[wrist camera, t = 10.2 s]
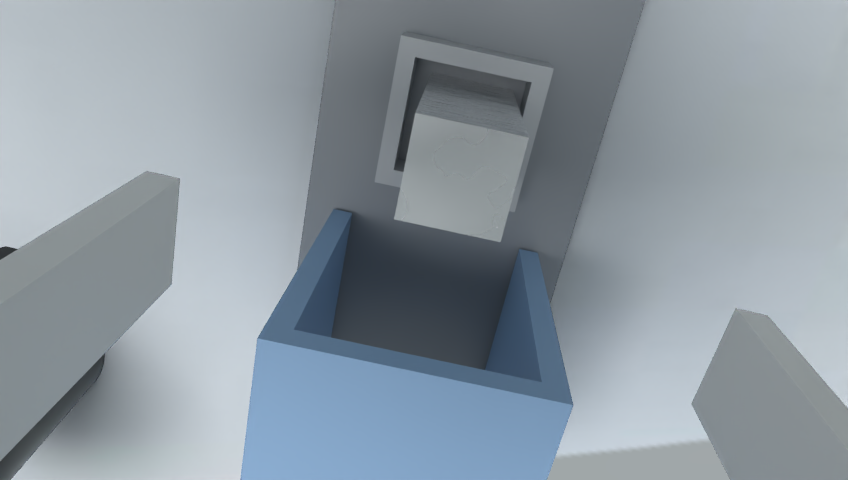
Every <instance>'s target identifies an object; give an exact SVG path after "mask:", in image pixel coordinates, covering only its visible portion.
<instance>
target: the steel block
mask: <svg viewBox="0 0 848 480" xmlns="http://www.w3.org/2000/svg"><path fill="white" fill-rule="evenodd" d="M528 139H529V136H528V133H527V130H526V128H525V125H524V122H523V119H522V116H521V113H520V110H519V107H518V104H517V101H516V98H515V95H514V93H513V90H511V89H507V88H502V87H498V86H493V85H488V84H484V83H479V82H475V81H470V80H466V79H461V78H457V77H452V76H447V75H443V74H438V73H434V72H432V73H431V76H430V78H429V81H428V83H427V85H426V88H425V90H424V93H423V95H422V98H421V100H420V103H419V105H418V108H417V110H416V112H415V117H414V122H413V127H412V132H411V137H410V142H409V147H408V152H407V157H406V162H405V167H404V172H403V177H402V182H401V187H400V192H399V197H398V202H397V207H396V212H395V217H394V219H395V220H400V221H404V222H409V223H414V224H418V225H423V226H427V227H432V228H437V229H441V230H446V231H451V232H455V233H460V234H464V235H469V236H474V237H478V238H483V239H488V240H492V241H497V242H501V239H502V235H503V231H504V228H505V224H506V220H507V217H508V213H509V209H510V206H511V202H512V198H513V194H514V191H515V187H516V183H517V180H518V176H519V172H520V169H521V165H522V161H523V158H524V154H525V150H526V147H527V143H528Z"/></svg>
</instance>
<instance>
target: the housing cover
mask: <svg viewBox="0 0 848 480" xmlns="http://www.w3.org/2000/svg"><path fill="white" fill-rule="evenodd" d="M351 217H352V213H350V212H345V211H341V210H336V209H333V211H332V213H331V214H330V216H329V218H328V219H327V221H326V223H325V224H324V226H323V228H322V230H321V231H320V233H319V235H318V236H317V238H316V240H315V241H314V243H313V245H312V247H311V248H310V250H309V252H308V253H307V255H306V257H305V258H304V260H303V262H302V264H301V265H300V267H299V269H298V270H297V272H296V274H295V275H294V277H293V279H292V281H291V282H290V284H289V286H288V287H287V289H286V291H285V292H284V294H283V296H282V298H281V299H280V301H279V303H278V304H277V306H276V308H275V309H274V311H273V313H272V314H271V316H270V318H269V320H268V321H267V323H266V325H265V326H264V328H263V330H262V331H261V333H260V335H259V337H258V338H257V346H256V355H255V363H254V371H253V380H252V388H251V396H250V405H249V413H248V421H247V430H246V438H245V446H244V455H243V463H242V471H241V479H240V480H547V478H548V475H549V472H550V470H551V467H552V464H553V461H554V458H555V455H556V453H557V450H558V447H559V444H560V441H561V439H562V436H563V433H564V430H565V427H566V424H567V422H568V419H569V416H570V413H571V410H572V407H573V402H572V397H571V393H570V389H569V385H568V380H567V376H566V372H565V367H564V363H563V359H562V355H561V350H560V346H559V342H558V337H557V333H556V329H555V325H554V320H553V316H552V312H551V307H550V303H549V299H548V295H547V290H546V286H545V282H544V277H543V273H542V269H541V264H540V260H539V256H538V253H536V252H531V251H527V250H522V249H519V252H518V255H517V259H516V262H515V266H514V269H513V273H512V276H511V280H510V283H509V287H508V291H507V294H506V298H505V301H504V305H503V308H502V312H501V315H500V319H499V322H498V326H497V329H496V333H495V336H494V340H493V343H492V347H491V351H490V354H489V358H488V361H487V365H486V368H485V370H482V369H477V368H472V367H468V366H463V365H458V364H453V363H449V362H444V361H439V360H435V359H430V358H425V357H420V356H416V355H411V354H406V353H402V352H397V351H392V350H387V349H383V348H378V347H373V346H369V345H364V344H359V343H354V342H350V341H345V340H340V339H336V338H331V334H332V328H333V323H334V317H335V311H336V305H337V299H338V293H339V287H340V282H341V276H342V270H343V264H344V258H345V252H346V246H347V241H348V235H349V229H350V223H351Z"/></svg>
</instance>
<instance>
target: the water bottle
mask: <svg viewBox="0 0 848 480" xmlns="http://www.w3.org/2000/svg"><path fill="white" fill-rule="evenodd" d="M103 363H104V355H103V356H102V357H101V358H100V359H99V360H98V361H97V362H96V363H95V364H94V365H93V366H92V367H91V368H90V369H89V370H88V371H87V372H86V373H85V374H84V375H83V376H82V377H81V378H80V379H79V380H78V381H77V382H76V383H75V384H74V385H73V387H72V388H71V389H70V390H69V391H68V392H67V393H66V394H65V395H64V396H63V397H62V398H61V399H60V400H59V401H58V402H57V403H56V404H55V405H54V406H53V407H52V408H51V409H50V410H49V411H48V412H47V413H46V414H45V415H44V416H43V417H42V419H41V420H40V421H39V422H38V423H37V424H36V425H35V426H34V427H33V428H32V429H31V430H30V431H29V432H28V433H27V434H26V435H25V436H24V437H23V438H22V439H21V440H20V441H19V442H18V443H17V444H16V445H15V446H14V447H13V448H12V450H11V451H10V452H9V453H8V454H7V455H6V456H5V457H4V458H3V459H2V460H1V461H0V480H11V479H12V478H13V476H14V475H15V474H16V473H17V472H18V471H19V469H20V468H21V467H22V466H23V465H24V464H25V462H26V461H27V460H28V459H29V458H30V457H31V455H32V454H33V453H34V452H35V451H36V450H37V448H38V447H39V446H40V445H41V444H42V443H43V441H44V440H45V439H46V438H47V437H48V436H49V434H50V433H51V432H52V431H53V430H54V429H55V427H56V426H57V425H58V424H59V423H60V422H61V420H62V419H63V418H64V417H65V416H66V415H67V413H68V412H69V411H70V410H71V409H72V408H73V406H74V405H75V404H76V403H77V402H78V401H79V399H80V398H81V397H82V396H83V395H84V394H85V392H86V391H87V390H88V389H89V388H90V387H91V385H92V384H93V383H94V382H95V381H96V379H97V378H98V376H99V375H100V372H101V370H102V367H103Z"/></svg>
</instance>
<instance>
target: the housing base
mask: <svg viewBox="0 0 848 480" xmlns="http://www.w3.org/2000/svg"><path fill="white" fill-rule="evenodd" d="M644 3H645V0H335V6H334V13H333V20H332V27H331V34H330V41H329V48H328V55H327V63H326V70H325V77H324V84H323V91H322V98H321V105H320V112H319V119H318V126H317V133H316V140H315V148H314V155H313V162H312V169H311V176H310V183H309V190H308V197H307V204H306V211H305V218H304V226H303V233H302V240H301V247H300V254H299V261H298V268H297V270H298V269H299V267H300V265H301V264H302V262H303V260H304V258H305V257H306V255H307V253H308V252H309V250H310V248H311V247H312V245H313V243H314V241H315V240H316V238H317V236H318V235H319V233H320V231H321V230H322V228H323V226H324V224H325V223H326V221H327V219H328V218H329V216H330V214H331V213H332V211H333V209H336V210H341V211H345V212H350V213H352V217H351V223H350V229H349V235H348V241H347V246H346V252H345V258H344V264H343V270H342V276H341V282H340V287H339V293H338V299H337V305H336V311H335V317H334V323H333V328H332V334H331V338H336V339H340V340H345V341H350V342H354V343H359V344H364V345H369V346H373V347H378V348H383V349H387V350H392V351H397V352H402V353H406V354H411V355H416V356H420V357H425V358H430V359H435V360H439V361H444V362H449V363H453V364H458V365H463V366H468V367H472V368H477V369H482V370H485V368H486V365H487V361H488V358H489V354H490V351H491V347H492V343H493V340H494V336H495V333H496V329H497V326H498V322H499V319H500V315H501V312H502V308H503V305H504V301H505V298H506V294H507V291H508V287H509V283H510V280H511V276H512V273H513V269H514V266H515V262H516V259H517V255H518V252H519V249H522V250H527V251H531V252H536V253H538V256H539V260H540V264H541V269H542V273H543V277H544V282H545V286H546V290H547V295H548V299H549V303H550V302H551V299H552V296H553V292H554V289H555V286H556V283H557V280H558V276H559V273H560V270H561V267H562V264H563V261H564V257H565V254H566V251H567V248H568V245H569V241H570V238H571V235H572V232H573V229H574V226H575V222H576V219H577V216H578V213H579V210H580V206H581V203H582V200H583V197H584V194H585V191H586V187H587V184H588V181H589V178H590V175H591V172H592V168H593V165H594V162H595V159H596V156H597V152H598V149H599V146H600V143H601V140H602V137H603V133H604V130H605V127H606V124H607V121H608V117H609V114H610V111H611V108H612V105H613V102H614V98H615V95H616V92H617V89H618V86H619V82H620V79H621V76H622V73H623V70H624V67H625V63H626V60H627V57H628V54H629V51H630V47H631V44H632V41H633V38H634V35H635V32H636V28H637V25H638V22H639V19H640V16H641V12H642V9H643V6H644ZM432 72H434V73H438V74H443V75H447V76H452V77H457V78H461V79H466V80H470V81H475V82H479V83H484V84H488V85H493V86H498V87H502V88H507V89H511V90H513V93H514V95H515V98H516V101H517V104H518V107H519V110H520V113H521V116H522V119H523V122H524V125H525V128H526V130H527V133H528V136H529V139H528V143H527V147H526V150H525V154H524V158H523V161H522V165H521V169H520V172H519V176H518V180H517V183H516V187H515V191H514V194H513V198H512V202H511V206H510V209H509V213H508V217H507V220H506V224H505V228H504V231H503V235H502V239H501V242H497V241H492V240H488V239H483V238H478V237H474V236H469V235H464V234H460V233H455V232H451V231H446V230H441V229H437V228H432V227H427V226H423V225H418V224H414V223H409V222H404V221H400V220H395V219H394V217H395V212H396V207H397V202H398V197H399V192H400V187H401V182H402V177H403V172H404V167H405V162H406V157H407V152H408V147H409V142H410V137H411V132H412V127H413V122H414V117H415V112H416V110H417V108H418V105H419V103H420V100H421V98H422V95H423V93H424V90H425V88H426V85H427V83H428V81H429V78H430V76H431V73H432Z"/></svg>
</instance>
